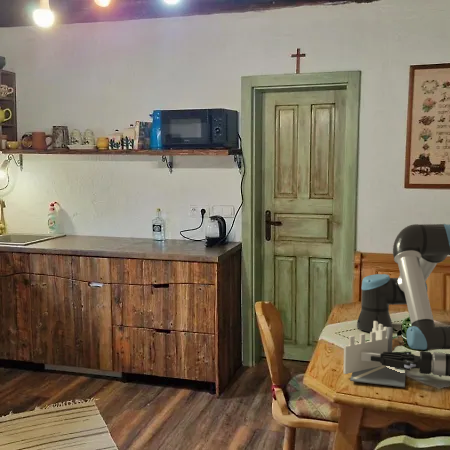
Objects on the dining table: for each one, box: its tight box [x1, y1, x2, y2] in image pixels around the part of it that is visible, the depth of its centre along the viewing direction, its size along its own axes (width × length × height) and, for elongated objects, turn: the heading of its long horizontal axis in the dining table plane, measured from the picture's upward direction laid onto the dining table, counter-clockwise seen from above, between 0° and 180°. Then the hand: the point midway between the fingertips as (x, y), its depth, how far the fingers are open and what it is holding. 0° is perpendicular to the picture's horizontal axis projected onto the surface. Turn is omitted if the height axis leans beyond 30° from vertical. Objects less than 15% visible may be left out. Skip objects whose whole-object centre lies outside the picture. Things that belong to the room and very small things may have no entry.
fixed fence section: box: [372, 321, 394, 352], centre depth 215 cm, size 14×2×14 cm, turn 11°
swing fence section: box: [343, 330, 388, 375], centre depth 204 cm, size 20×1×13 cm, turn 118°
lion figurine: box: [392, 335, 405, 351], centre depth 226 cm, size 15×5×9 cm
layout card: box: [349, 365, 406, 388], centre depth 208 cm, size 34×18×1 cm, turn 161°
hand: (361, 356), depth 201 cm, fingers closed
